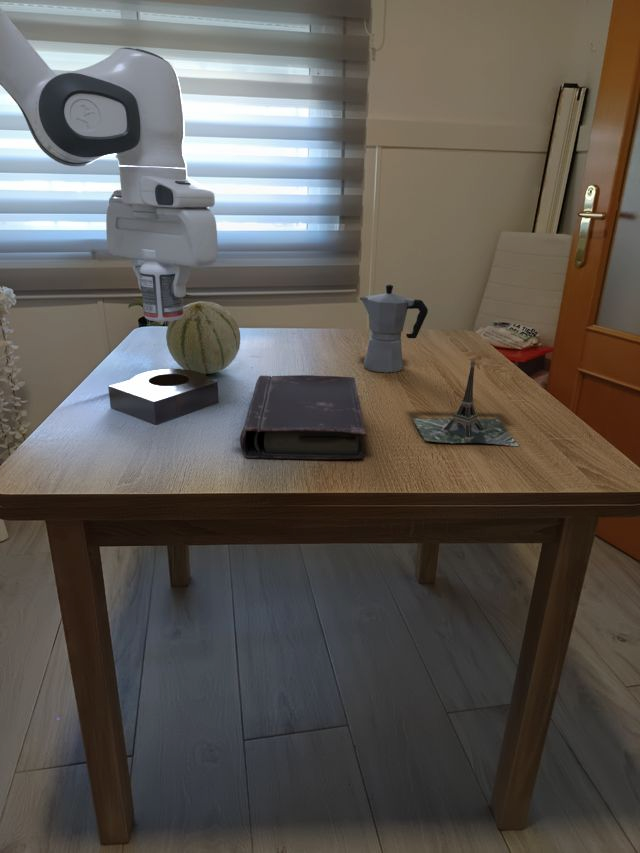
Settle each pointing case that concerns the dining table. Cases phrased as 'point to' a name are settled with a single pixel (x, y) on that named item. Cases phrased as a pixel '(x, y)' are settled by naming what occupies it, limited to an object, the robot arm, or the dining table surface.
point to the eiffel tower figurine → (465, 424)
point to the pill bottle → (158, 290)
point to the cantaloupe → (203, 338)
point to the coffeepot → (389, 329)
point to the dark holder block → (163, 394)
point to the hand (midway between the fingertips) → (162, 293)
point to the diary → (304, 418)
